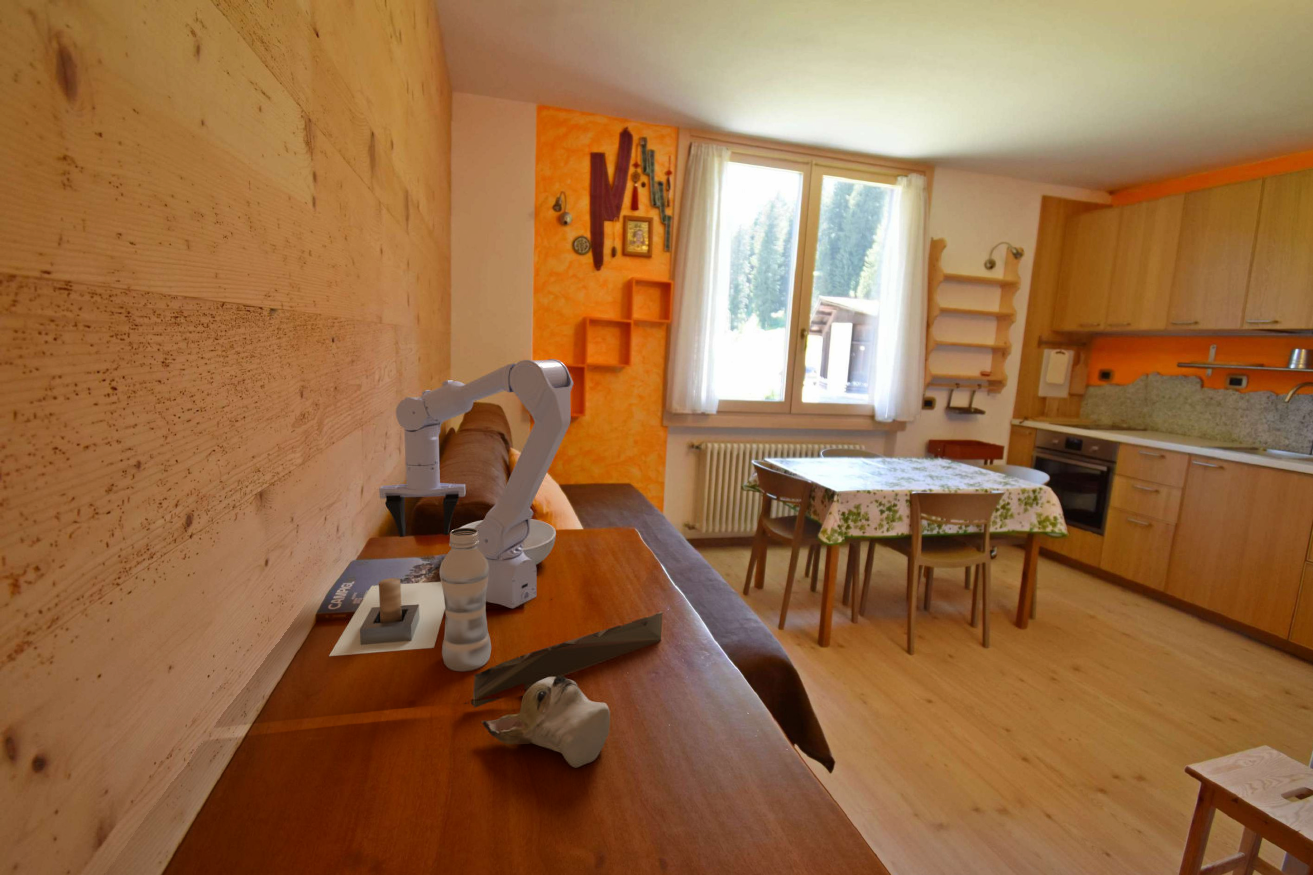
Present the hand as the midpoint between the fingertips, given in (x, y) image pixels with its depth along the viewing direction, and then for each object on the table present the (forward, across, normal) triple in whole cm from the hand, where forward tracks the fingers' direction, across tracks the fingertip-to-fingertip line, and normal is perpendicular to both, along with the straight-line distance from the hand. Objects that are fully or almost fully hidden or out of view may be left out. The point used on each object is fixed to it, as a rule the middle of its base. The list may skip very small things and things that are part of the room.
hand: (424, 534), depth 106 cm
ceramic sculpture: (+10, -21, +48) cm, 53 cm away
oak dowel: (+9, +2, +19) cm, 21 cm away
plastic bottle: (+10, -10, +30) cm, 33 cm away
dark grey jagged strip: (+10, -25, +33) cm, 43 cm away
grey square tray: (+9, +2, +19) cm, 21 cm away
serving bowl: (+10, -14, -8) cm, 19 cm away
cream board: (+10, +2, +13) cm, 17 cm away
